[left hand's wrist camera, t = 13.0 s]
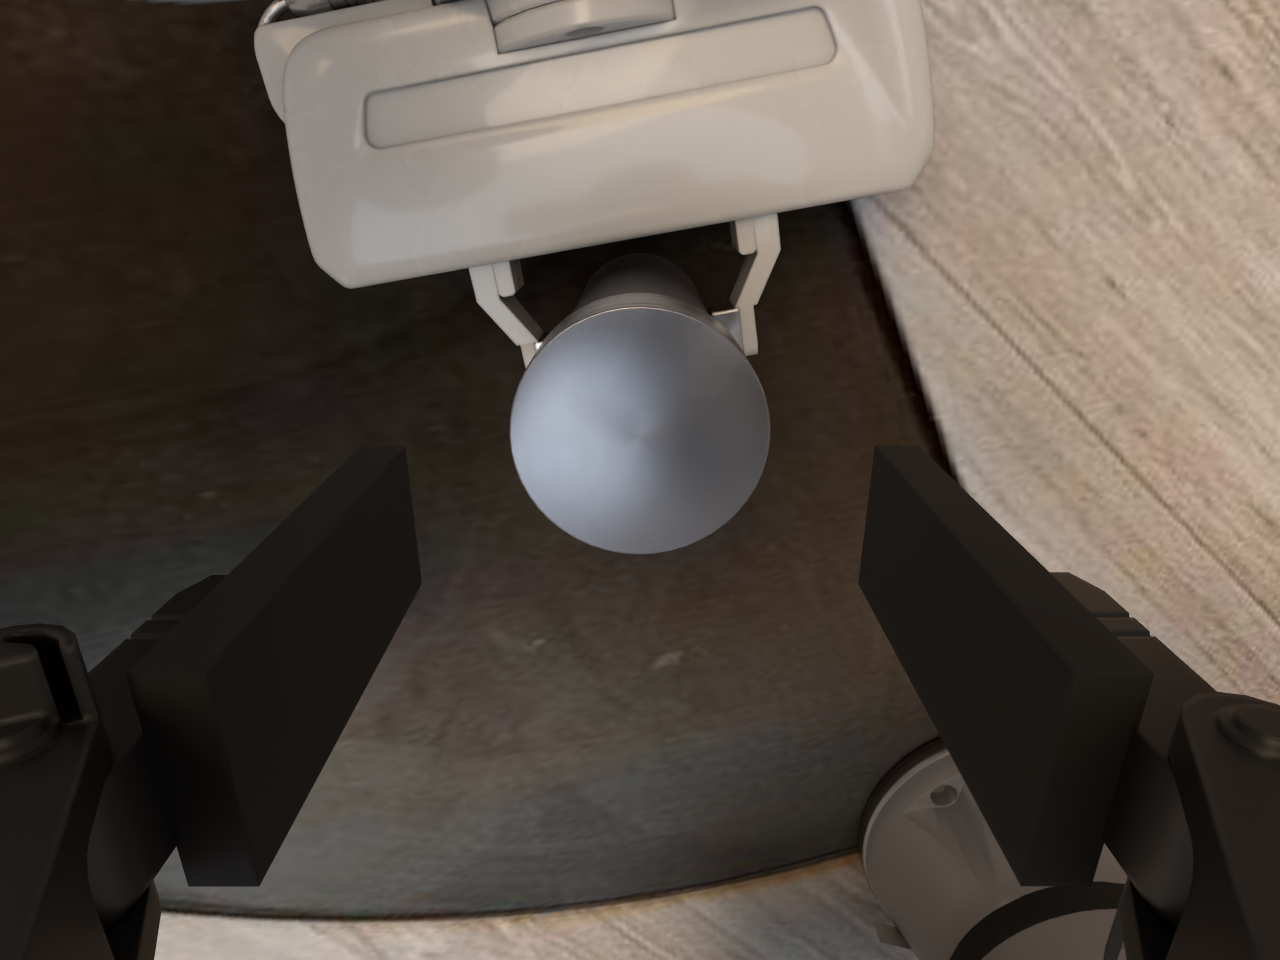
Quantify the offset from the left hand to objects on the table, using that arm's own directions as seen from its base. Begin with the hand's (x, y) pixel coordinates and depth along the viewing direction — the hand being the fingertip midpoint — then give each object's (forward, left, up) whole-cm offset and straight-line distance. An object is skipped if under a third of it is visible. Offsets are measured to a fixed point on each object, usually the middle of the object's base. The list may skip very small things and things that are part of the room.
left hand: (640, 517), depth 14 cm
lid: (0, 0, -5) cm, 5 cm away
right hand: (0, +1, -15) cm, 15 cm away
